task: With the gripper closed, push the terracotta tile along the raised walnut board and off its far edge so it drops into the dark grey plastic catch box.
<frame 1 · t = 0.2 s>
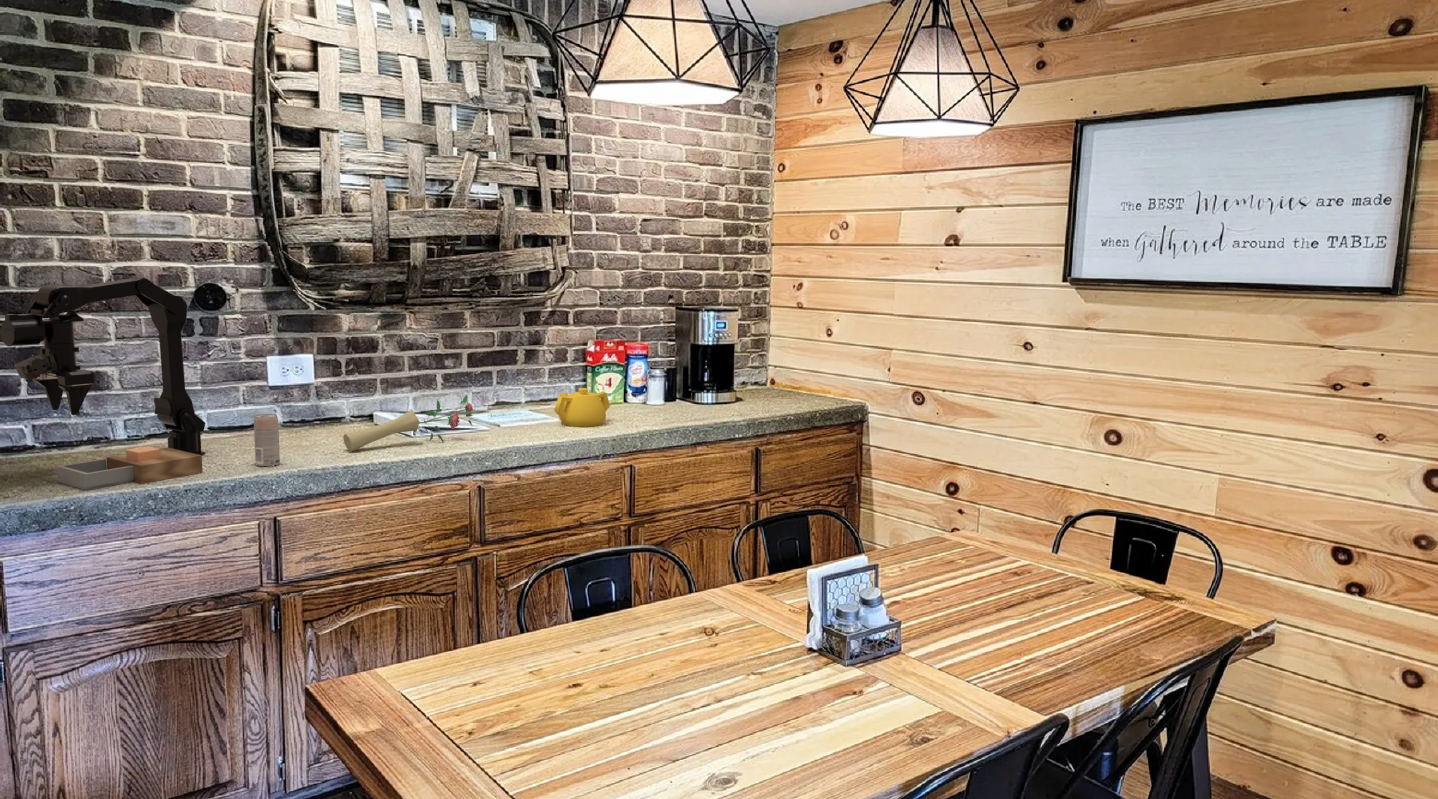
hand: (64, 412, 224), 14 cm above the table, fingers open, 9 cm apart
energy drink: (267, 465, 243), on the table
catch box: (96, 481, 222), on the table
walnut board: (155, 473, 231), on the table
flower vase: (410, 445, 271), on the table
terracotta tile: (143, 458, 228), point 4 cm above the table, touching walnut board
teapot: (578, 423, 311), on the table
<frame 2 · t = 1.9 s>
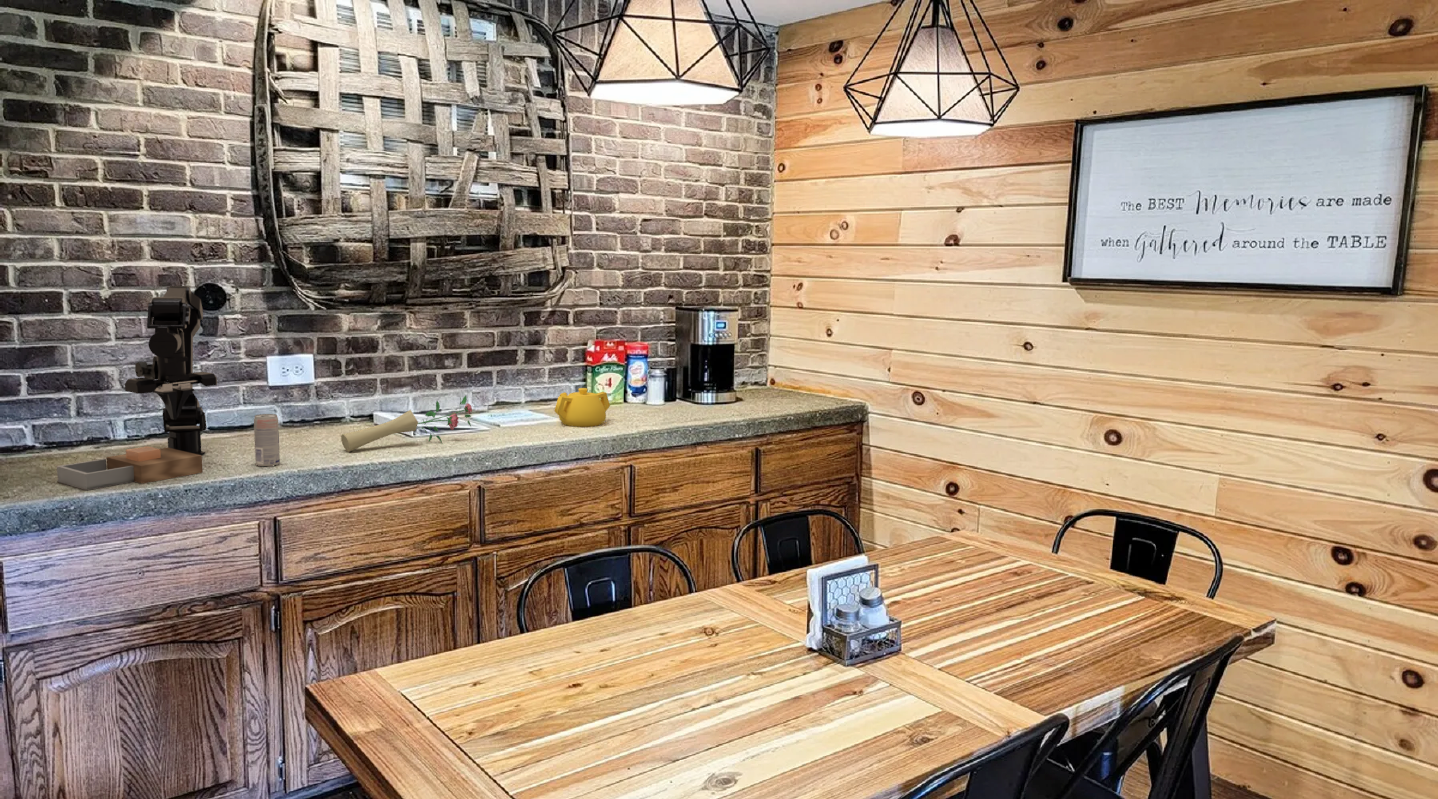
hand: (174, 419, 233), 12 cm above the table, fingers closed
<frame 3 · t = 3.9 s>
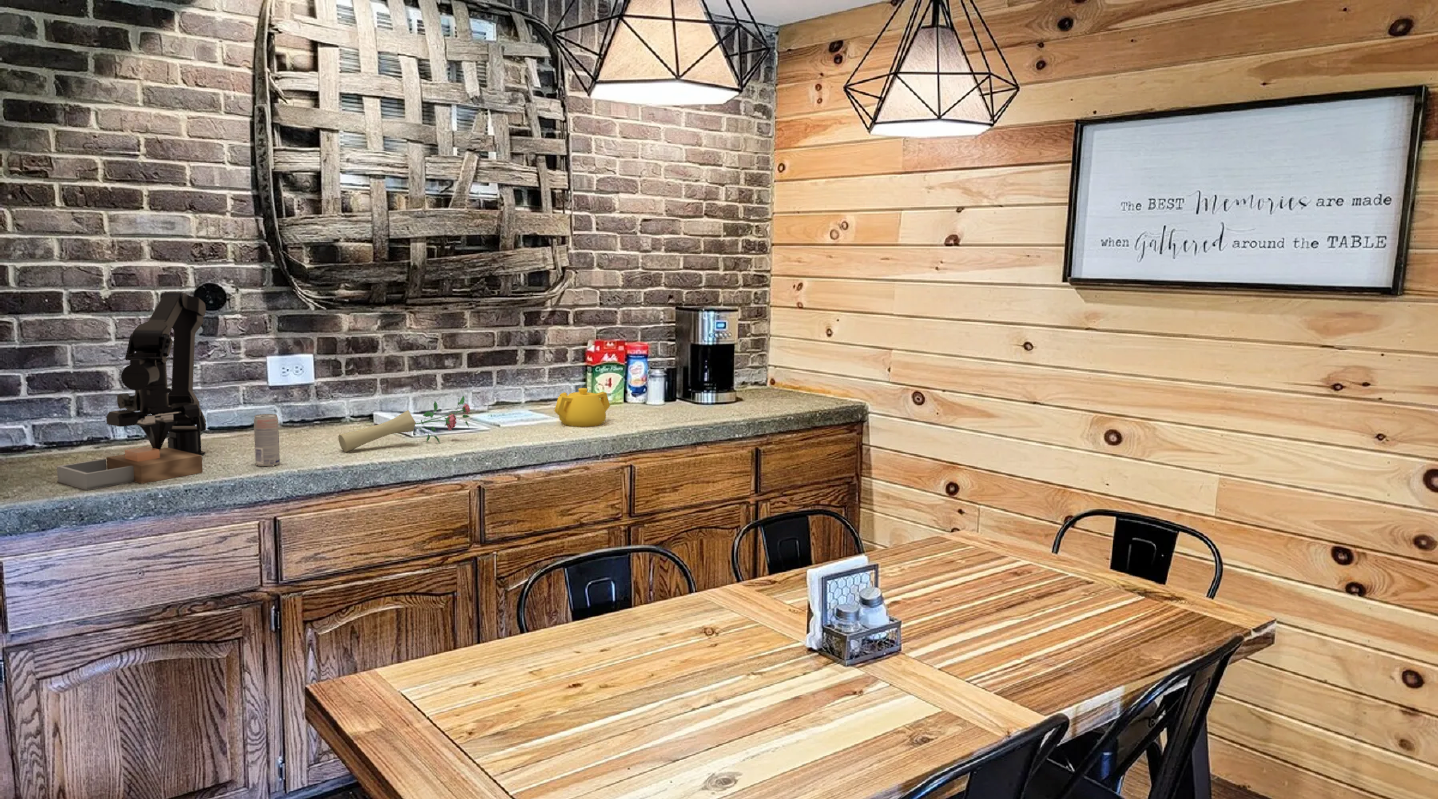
hand: (156, 451, 230), 5 cm above the table, fingers closed
terracotta tile: (142, 458, 228), point 4 cm above the table, touching gripper, walnut board
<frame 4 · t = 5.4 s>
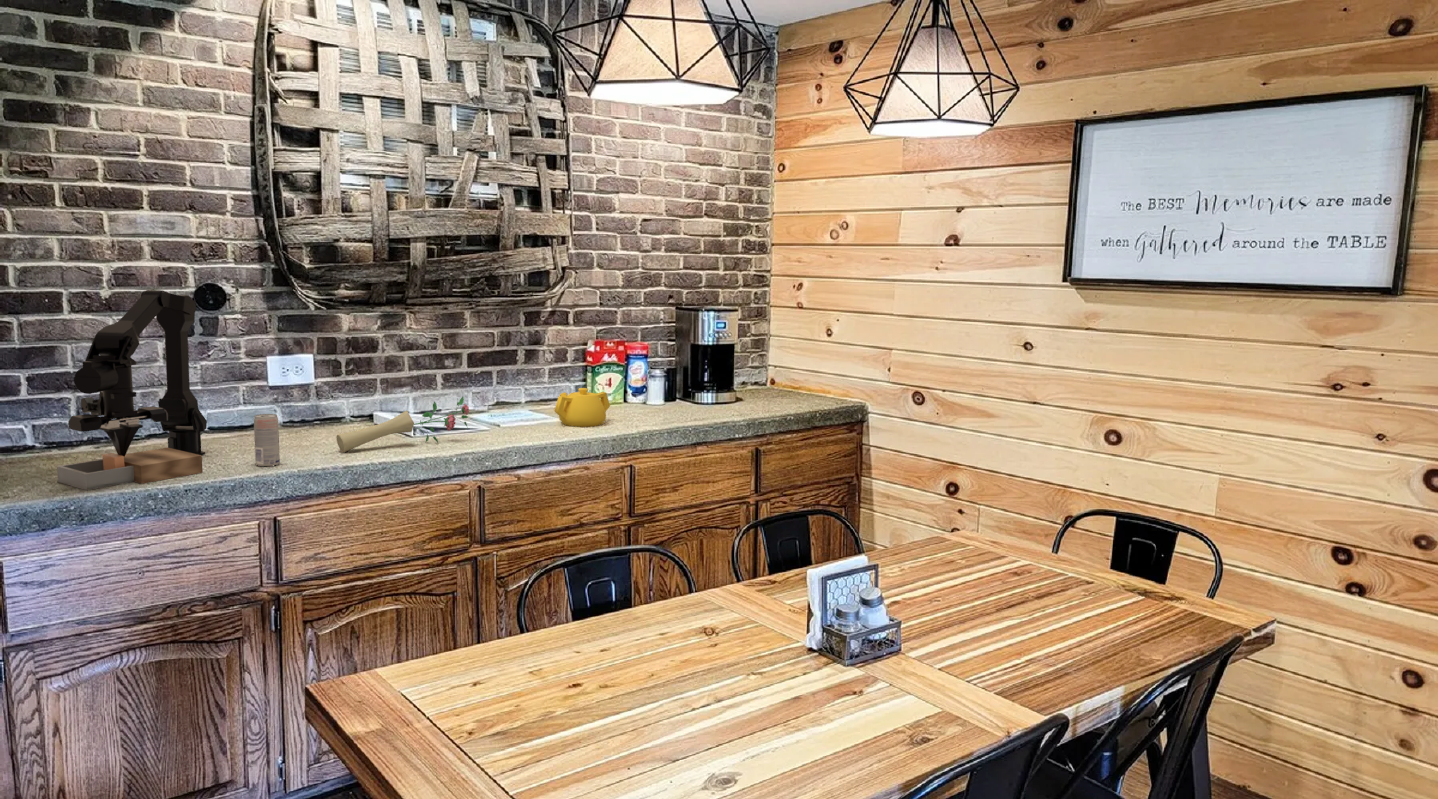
hand: (121, 456, 224), 5 cm above the table, fingers closed
terracotta tile: (118, 465, 224), point 3 cm above the table, tilted 92°, touching catch box, gripper
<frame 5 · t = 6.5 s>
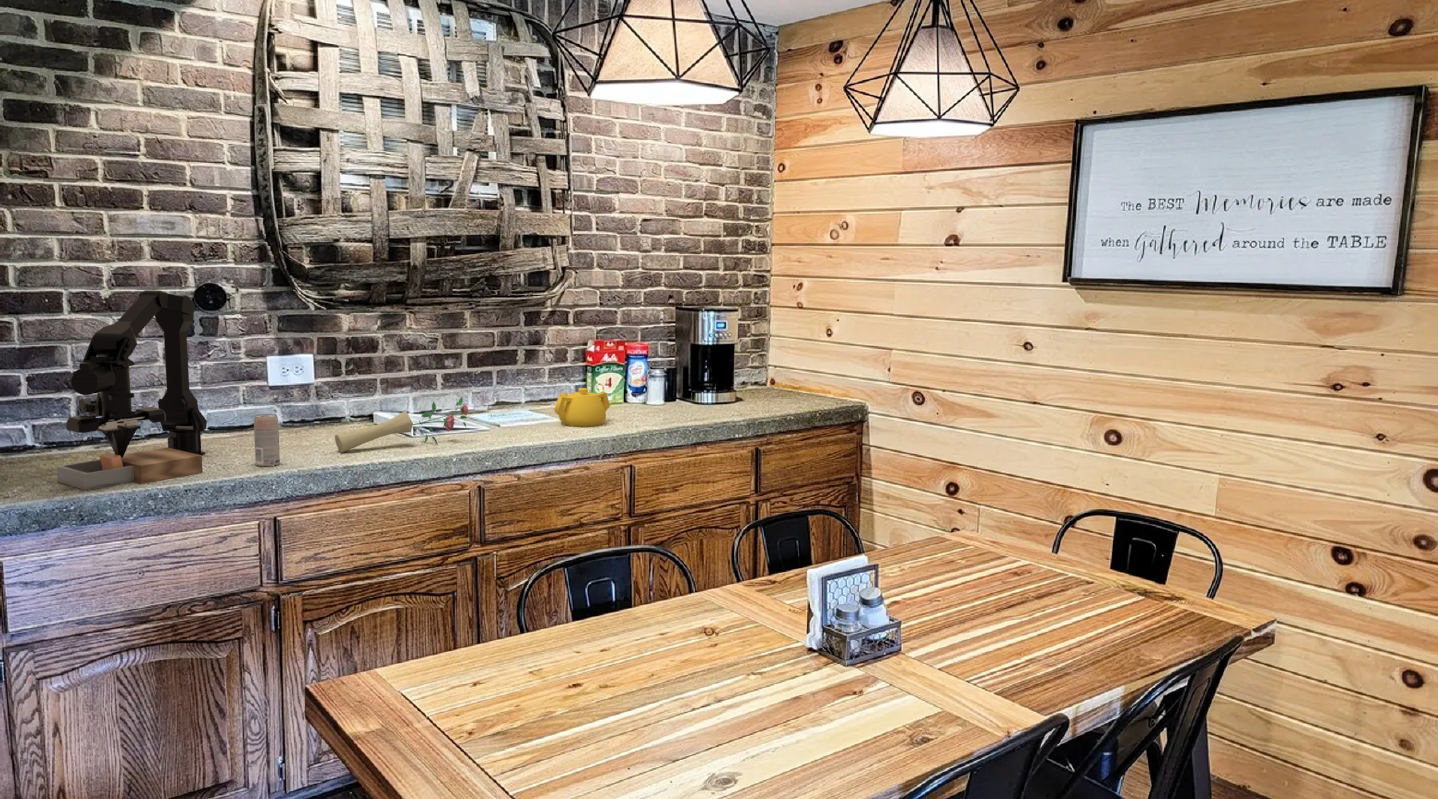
hand: (119, 457, 223), 5 cm above the table, fingers closed
terracotta tile: (116, 464, 224), point 3 cm above the table, tilted 100°, touching catch box, gripper
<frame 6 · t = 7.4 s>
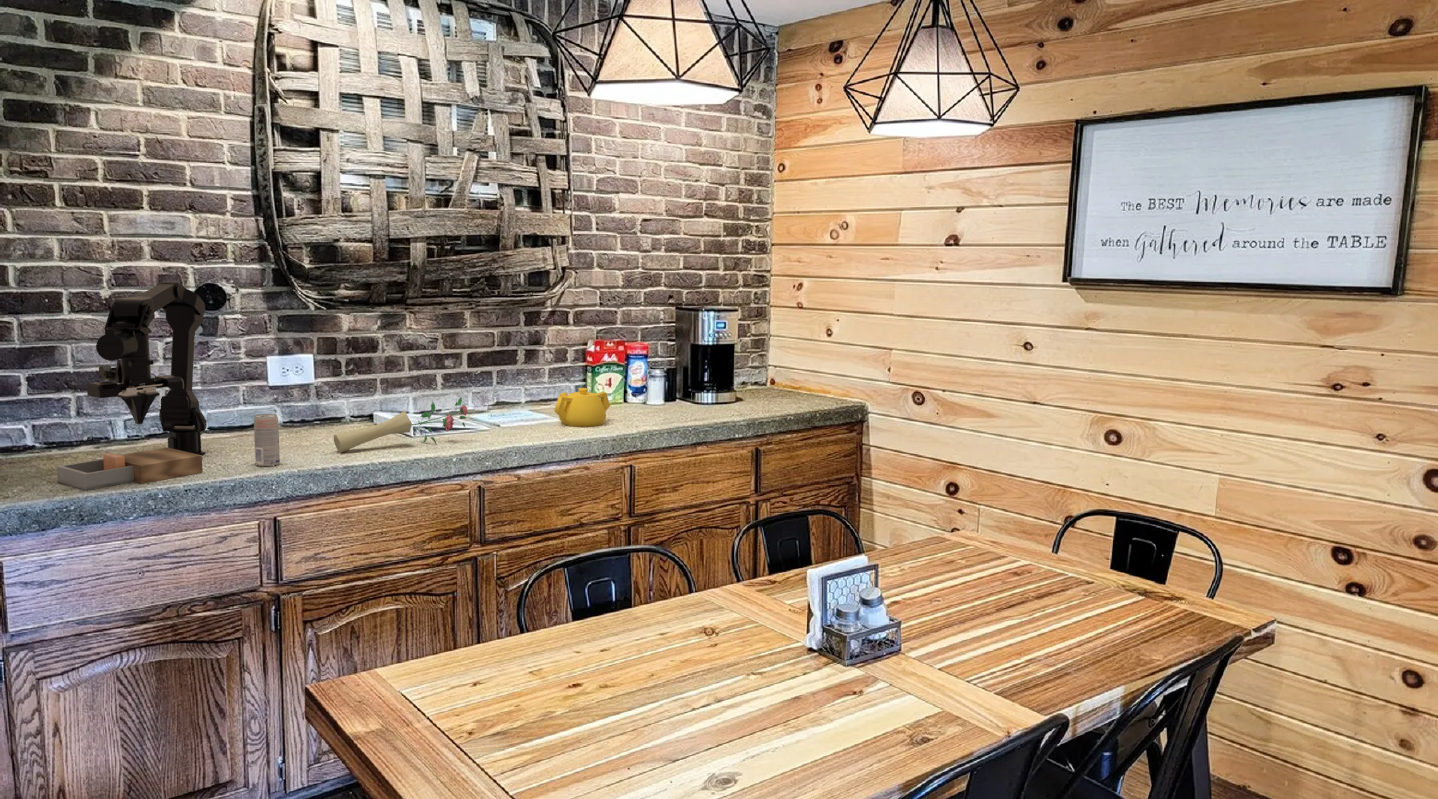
hand: (139, 424, 227), 12 cm above the table, fingers closed
terracotta tile: (119, 465, 224), point 3 cm above the table, tilted 90°, touching catch box
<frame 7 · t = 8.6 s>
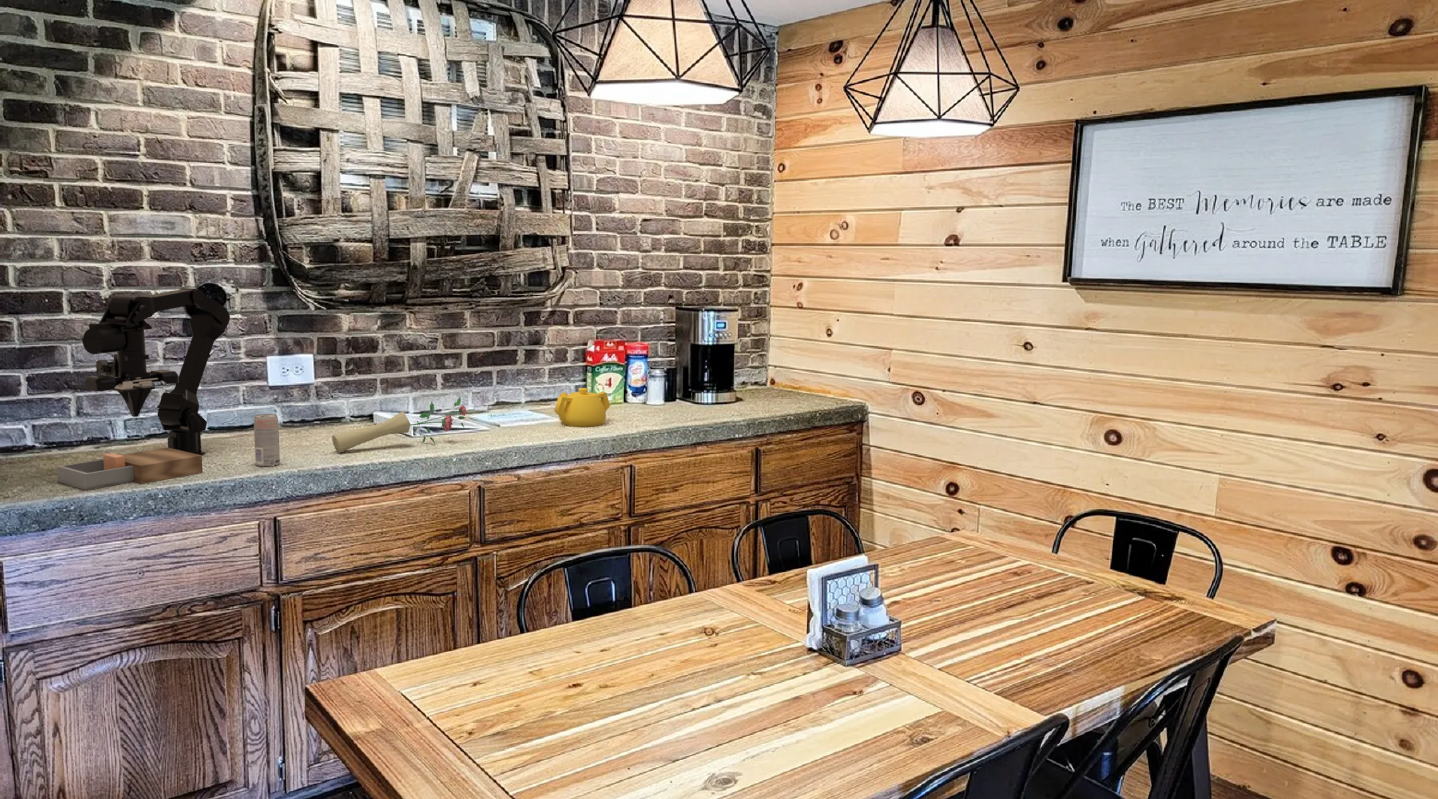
hand: (135, 416, 234), 12 cm above the table, fingers closed
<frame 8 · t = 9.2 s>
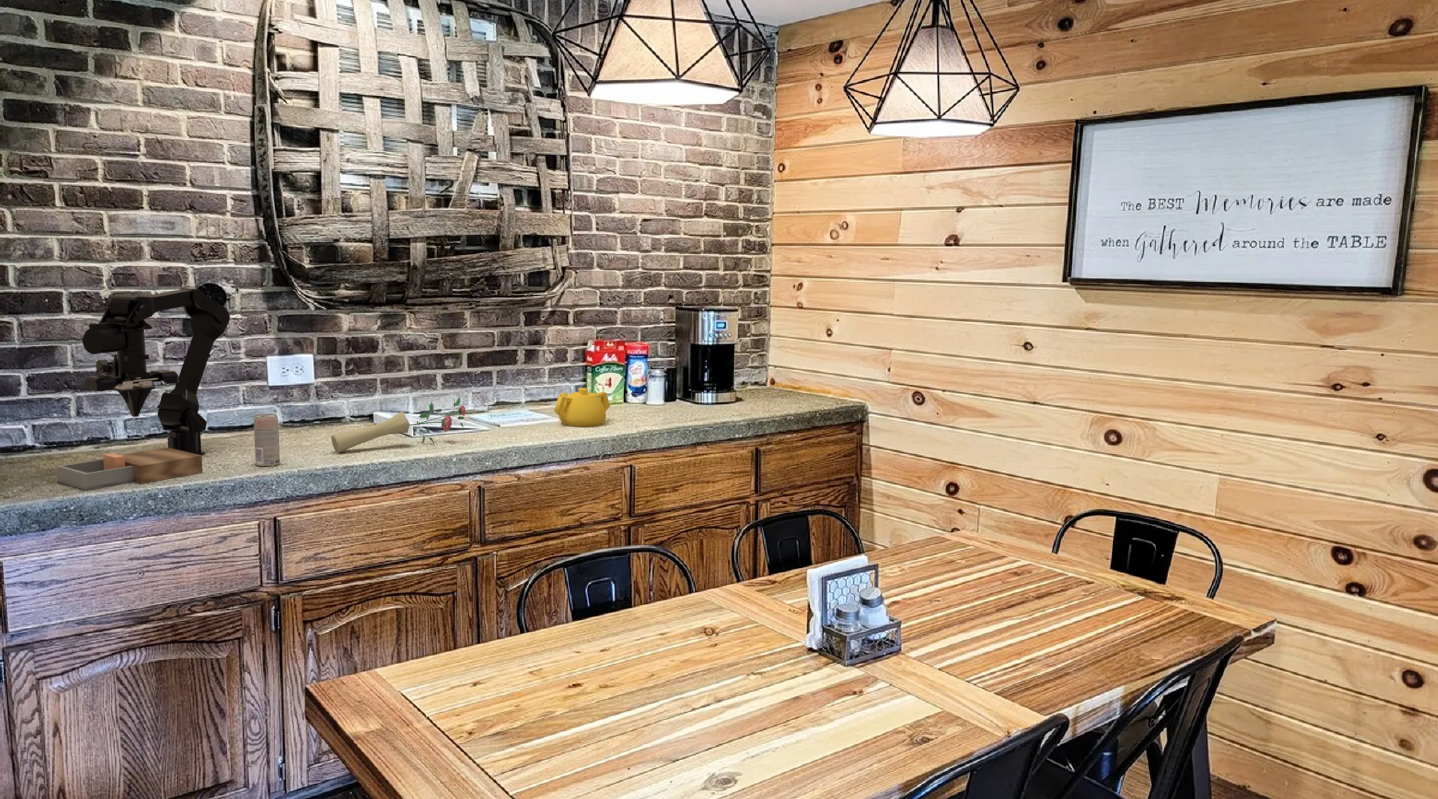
hand: (135, 416, 234), 12 cm above the table, fingers closed
at the end: terracotta tile inside the target area (4.3 cm from its centre), point 3.1 cm above the table; terracotta tile touching catch box; terracotta tile moved 5.3 cm from its start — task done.
